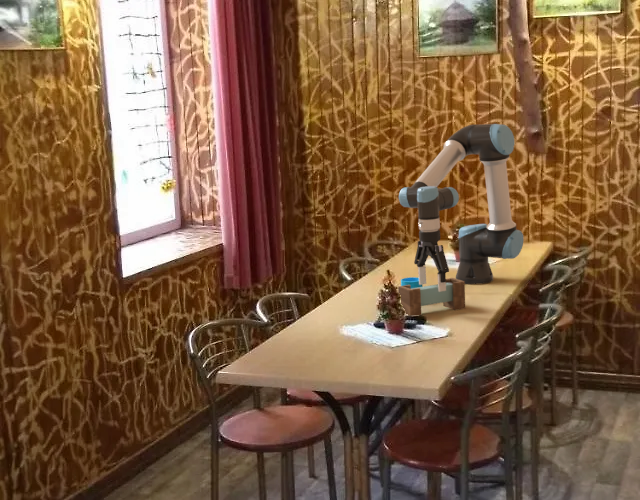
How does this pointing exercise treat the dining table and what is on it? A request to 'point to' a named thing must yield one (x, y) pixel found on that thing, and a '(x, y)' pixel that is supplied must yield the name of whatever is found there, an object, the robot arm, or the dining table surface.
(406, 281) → the mug
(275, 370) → the dining table surface
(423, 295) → the rail
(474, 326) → the dining table surface
